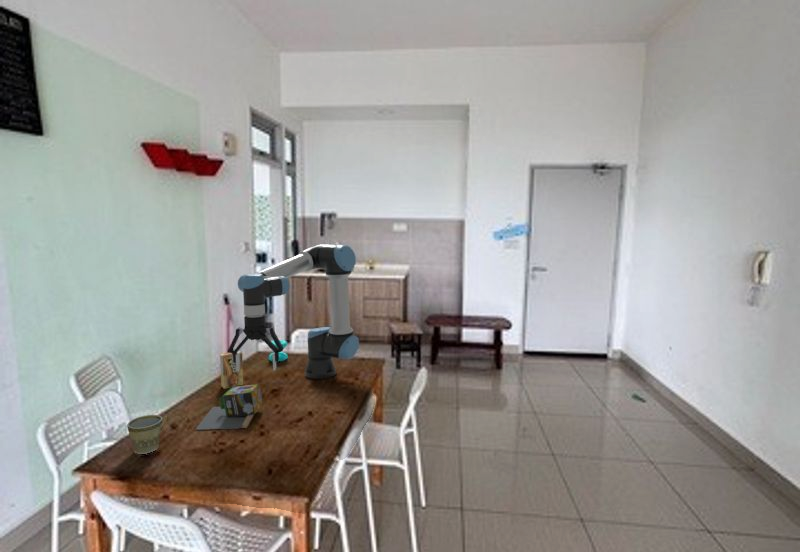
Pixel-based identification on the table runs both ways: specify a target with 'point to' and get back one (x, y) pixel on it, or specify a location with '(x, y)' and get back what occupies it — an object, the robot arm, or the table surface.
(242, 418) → the mat
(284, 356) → the donuts
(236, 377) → the candy box
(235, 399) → the chalk box
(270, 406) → the table surface
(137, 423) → the ceramic cup
